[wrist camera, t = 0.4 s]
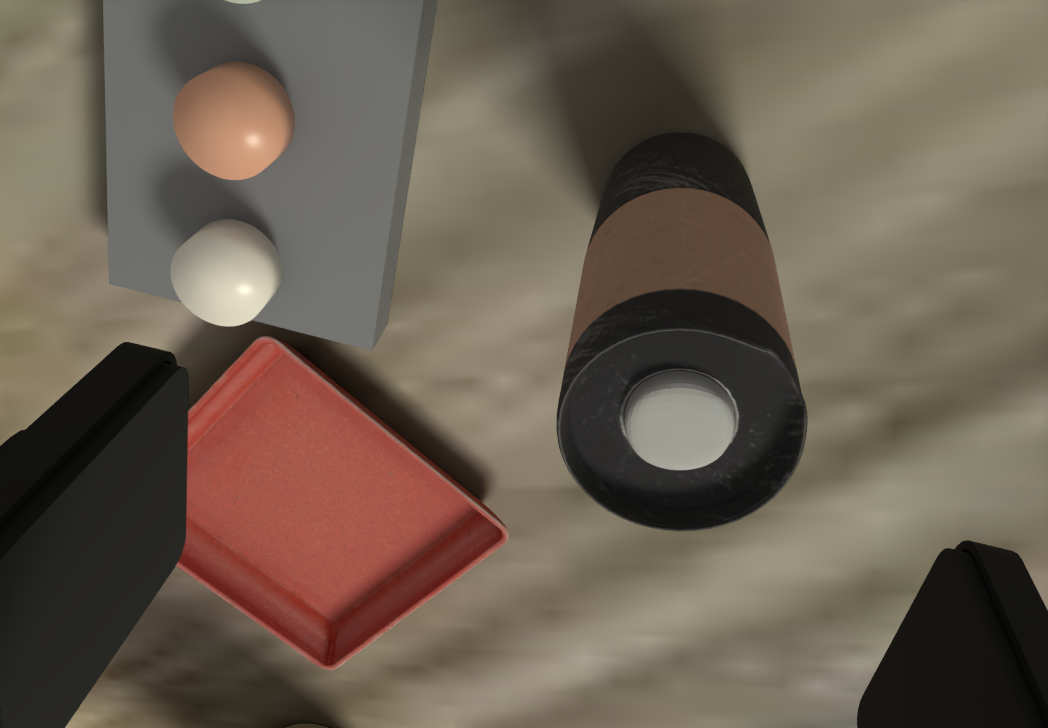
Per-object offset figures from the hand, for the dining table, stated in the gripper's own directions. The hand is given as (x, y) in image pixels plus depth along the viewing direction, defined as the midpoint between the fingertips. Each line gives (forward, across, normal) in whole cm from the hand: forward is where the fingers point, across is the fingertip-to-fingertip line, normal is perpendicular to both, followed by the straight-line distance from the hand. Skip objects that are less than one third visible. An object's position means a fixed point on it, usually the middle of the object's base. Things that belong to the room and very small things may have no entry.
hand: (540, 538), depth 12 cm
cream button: (+32, +16, +14) cm, 38 cm away
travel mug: (+35, -4, +7) cm, 36 cm away
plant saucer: (+36, +12, +30) cm, 49 cm away
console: (+35, +16, +6) cm, 39 cm away
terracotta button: (+32, +16, +6) cm, 36 cm away
